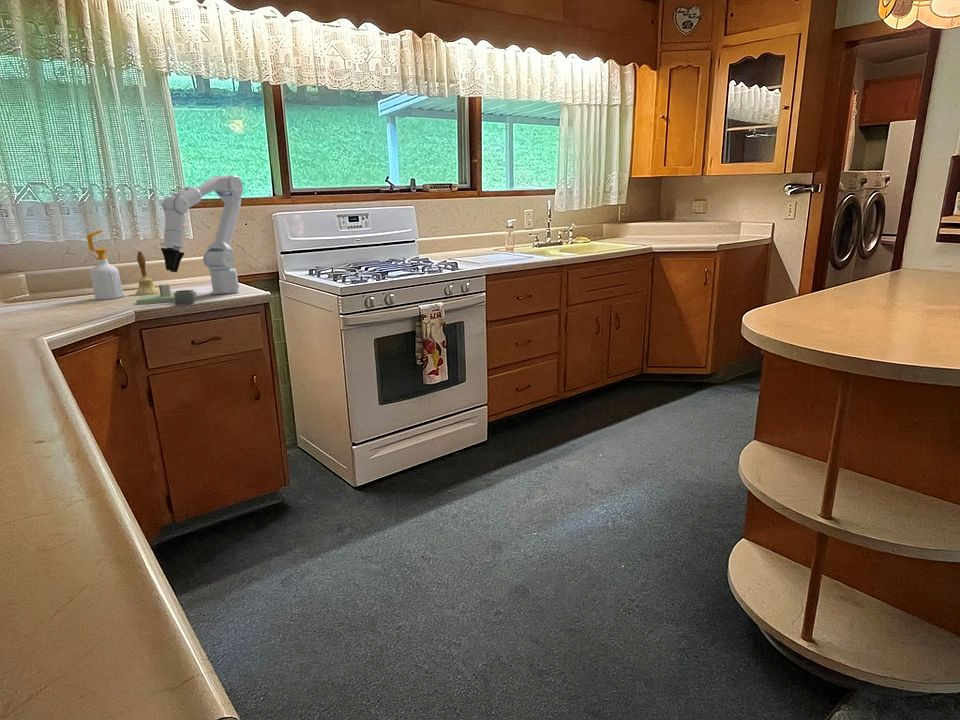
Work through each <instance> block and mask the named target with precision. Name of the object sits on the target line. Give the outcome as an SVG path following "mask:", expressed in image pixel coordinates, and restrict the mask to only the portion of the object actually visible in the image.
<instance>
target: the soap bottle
mask: <svg viewBox="0 0 960 720" xmlns="http://www.w3.org/2000/svg"><path fill="white" fill-rule="evenodd" d="M103 232H104V231H103V230H101V229H100V230H95V231H93V232H90V233H89V234H87V235H86V238H87V239H86V240H87V244H88V249H89V250H90V251H92V252H95V253H96V255H97V254H98V255H97V256H98V257H96V262H97V264H96V265H95V266H93V267H92V268H91V269H90V270H89V275H90V279H91V284H92V290H93V293H94V298H95V300H98V301H106V300H107V301H109V300H115V299H116V300H117V299H120V298H122V297H123V296H124V292H123V287H122V282H121V276H120V271H119V268H117V267H116V266H114V265H112V264H110V263H109V261H108V258H107V256H105V255H104V254H106V251H109V249H108V248H99V249H95V248H94V243H93V236H95V235H98V234H100V233H103Z"/></svg>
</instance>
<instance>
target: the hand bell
mask: <svg viewBox="0 0 960 720" xmlns="http://www.w3.org/2000/svg"><path fill="white" fill-rule="evenodd" d="M136 258H137V259H136V260H137V264H138V266H139V268H140V271H141V278H140V279H138V289H137V291H136V292H135V295H136V296H142V295H155V294H160V289H159V288H156V286H155V284H154V283H153V279H152V278H151V277H150V278H149V276H148V274H147V270H146V257H145V256H144V254H143V252H142V251H137V256H136Z"/></svg>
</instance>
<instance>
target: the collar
mask: <svg viewBox="0 0 960 720" xmlns="http://www.w3.org/2000/svg"><path fill="white" fill-rule="evenodd" d="M194 292H195V291H194V289H186V290H184V289H183V290H176V291H175V292H173V293H174V295H175V301H176V302H175V305H176V306H177V305H179V306H181V305H192V304H194V303H195V302H194V301H196V297H195V298H194Z"/></svg>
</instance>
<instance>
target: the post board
mask: <svg viewBox="0 0 960 720" xmlns="http://www.w3.org/2000/svg"><path fill="white" fill-rule="evenodd" d="M158 290H159V291H160V292H159V293H156V294H150V295H140V296H139V297H138V298H137V299H136V304H137V305H146V304H147V305H148V304H161V303H163V304H164V303H173V302H175V303H176V301H175V295H174V293H175V292H172V290H171V284H170V283H164V284H159V285H158ZM197 296H198V295H197V291H194V298H195V299H196V298H197Z"/></svg>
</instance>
